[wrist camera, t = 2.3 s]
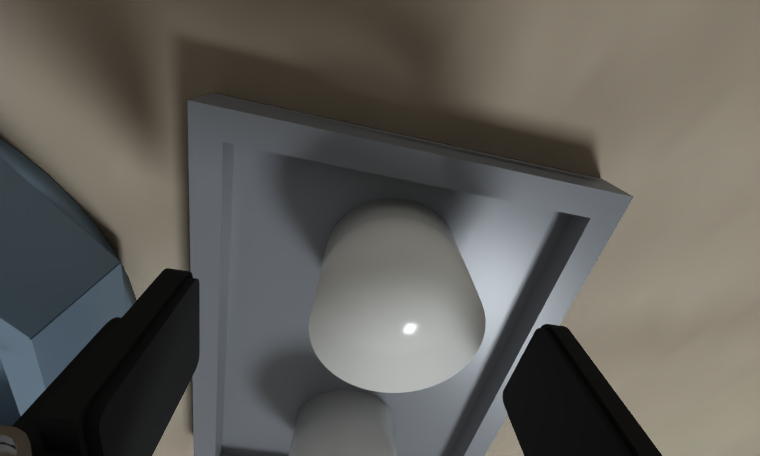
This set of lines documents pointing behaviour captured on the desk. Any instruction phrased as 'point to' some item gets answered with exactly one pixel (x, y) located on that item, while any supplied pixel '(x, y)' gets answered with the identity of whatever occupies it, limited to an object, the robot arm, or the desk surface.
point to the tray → (306, 252)
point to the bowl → (48, 282)
